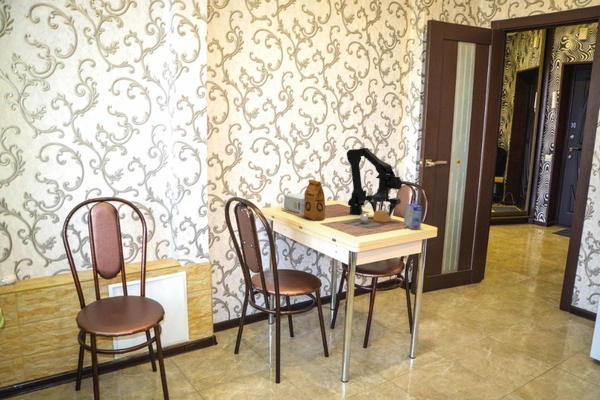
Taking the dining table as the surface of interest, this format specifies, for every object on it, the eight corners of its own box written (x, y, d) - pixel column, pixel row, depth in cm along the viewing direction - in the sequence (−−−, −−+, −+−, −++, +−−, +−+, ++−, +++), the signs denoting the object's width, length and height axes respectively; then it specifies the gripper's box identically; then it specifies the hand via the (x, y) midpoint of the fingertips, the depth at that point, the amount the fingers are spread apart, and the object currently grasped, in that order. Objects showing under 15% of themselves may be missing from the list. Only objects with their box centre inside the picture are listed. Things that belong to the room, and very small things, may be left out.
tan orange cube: (373, 222, 250) (373, 211, 249) (379, 220, 255) (379, 210, 254) (384, 224, 246) (385, 213, 245) (390, 222, 251) (391, 211, 250)
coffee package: (312, 221, 247) (313, 182, 244) (301, 217, 258) (302, 179, 254) (327, 220, 252) (328, 181, 248) (316, 215, 263) (317, 178, 259)
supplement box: (283, 209, 281) (283, 194, 279) (299, 207, 289) (300, 192, 288) (300, 213, 268) (300, 198, 266) (316, 211, 276) (317, 196, 275)
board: (340, 225, 240) (340, 223, 240) (355, 220, 253) (355, 218, 252) (373, 231, 228) (373, 229, 228) (387, 226, 241) (387, 224, 241)
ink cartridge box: (421, 229, 235) (423, 202, 233) (411, 229, 234) (413, 202, 232) (412, 225, 245) (414, 199, 243) (403, 225, 244) (405, 199, 241)
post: (358, 223, 240) (359, 214, 239) (362, 222, 243) (363, 213, 242) (365, 224, 237) (366, 215, 237) (369, 223, 241) (369, 214, 240)
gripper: (361, 186, 246) (360, 214, 249) (392, 190, 235) (391, 219, 238) (371, 184, 255) (370, 211, 258) (401, 188, 244) (400, 216, 247)
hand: (382, 214), depth 250 cm, fingers open, 9 cm apart
